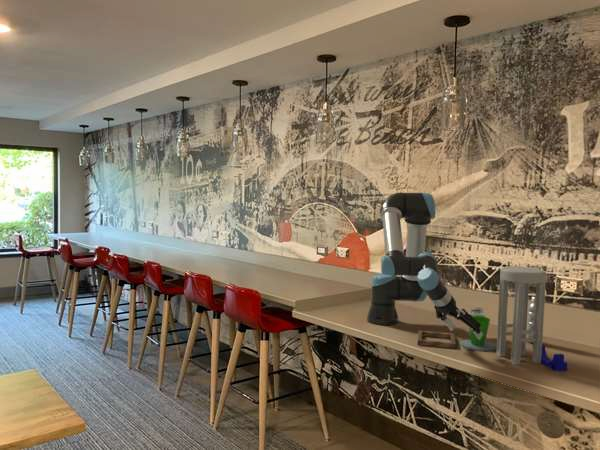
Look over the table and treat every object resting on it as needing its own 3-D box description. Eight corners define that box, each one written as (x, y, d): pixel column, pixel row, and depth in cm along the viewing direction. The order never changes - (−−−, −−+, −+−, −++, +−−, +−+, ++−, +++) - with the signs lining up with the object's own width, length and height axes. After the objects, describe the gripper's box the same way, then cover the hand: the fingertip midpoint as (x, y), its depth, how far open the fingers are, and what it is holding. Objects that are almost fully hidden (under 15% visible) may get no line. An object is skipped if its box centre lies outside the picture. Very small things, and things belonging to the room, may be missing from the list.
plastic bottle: (541, 341, 212) (543, 295, 210) (543, 345, 205) (546, 299, 204) (524, 339, 214) (527, 294, 212) (526, 344, 207) (529, 297, 206)
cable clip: (567, 371, 177) (567, 354, 177) (555, 371, 177) (556, 355, 176) (545, 359, 189) (546, 344, 189) (534, 360, 188) (535, 344, 188)
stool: (488, 353, 195) (492, 266, 192) (522, 351, 198) (526, 265, 196) (513, 367, 180) (518, 273, 177) (549, 364, 183) (555, 272, 180)
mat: (453, 341, 208) (453, 340, 208) (481, 339, 213) (481, 338, 213) (474, 352, 195) (474, 351, 195) (503, 349, 199) (503, 348, 199)
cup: (491, 348, 199) (492, 322, 198) (467, 346, 200) (469, 320, 200) (487, 342, 207) (488, 316, 207) (464, 340, 209) (465, 315, 208)
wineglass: (484, 334, 220) (486, 308, 219) (483, 338, 214) (484, 311, 213) (468, 332, 223) (470, 306, 222) (467, 336, 217) (468, 309, 216)
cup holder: (417, 344, 203) (417, 340, 203) (418, 334, 218) (418, 330, 218) (455, 348, 199) (455, 343, 199) (453, 338, 214) (454, 333, 214)
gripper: (414, 300, 199) (437, 331, 208) (464, 314, 178) (488, 348, 187) (423, 286, 201) (446, 318, 210) (474, 298, 180) (497, 332, 190)
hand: (466, 332), depth 199 cm, fingers open, 13 cm apart
